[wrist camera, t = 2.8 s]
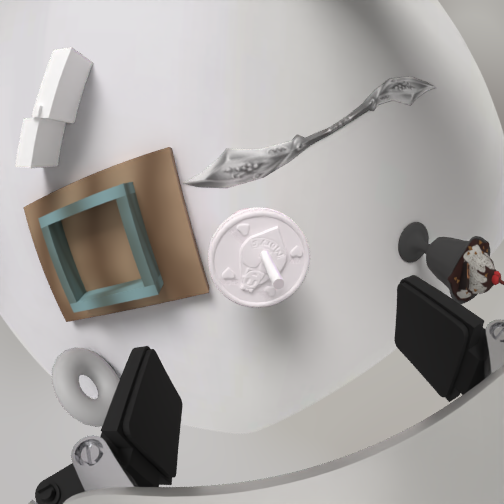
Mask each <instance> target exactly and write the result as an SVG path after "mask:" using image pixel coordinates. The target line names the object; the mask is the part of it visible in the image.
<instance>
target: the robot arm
mask: <svg viewBox="0 0 504 504" xmlns="http://www.w3.org/2000/svg"><path fill="white" fill-rule="evenodd" d="M483 323H484V320H482V319H481V318H479V317H478V316H477V315H475V314H474V313H472V312H471V311H469V310H468V309H466V308H465V307H464V306H462V305H461V304H459V303H458V302H456V301H455V300H453V299H452V298H450V297H448V296H447V295H445V294H444V293H442V292H441V291H439V290H438V289H436V288H435V287H433V286H431V285H430V284H428V283H427V282H425V281H423V280H422V279H420V278H419V277H417V276H415V275H412V276H410V277H407V278H404V279H402V280H401V282H400V284H399V285H398V287H397V313H396V329H395V344H396V346H397V348H398V349H399V350H400V351H401V352H402V353H403V354H404V355H405V356H406V357H407V358H408V360H409V361H410V362H411V363H412V364H413V365H414V366H415V367H416V369H418V371H419V372H420V373H421V374H422V375H423V377H424V378H425V379H426V380H427V381H428V382H429V383H430V384H431V386H432V387H433V388H434V389H435V390H436V391H437V393H438V394H439V395H440V396H441V397H446V399H447V400H448V401H449V402H450V401H452V400H453V399H455V398H456V397H458V396H459V395H460V393H461V394H462V396H461V397H459V398H458V399H456V400H455V401H453V402H452V403H450V404H449V405H447V406H446V407H444V408H443V409H441V410H440V411H438V412H436V413H435V414H433V415H431V416H430V417H428V418H426V419H425V420H423V421H421V422H419V423H418V424H416V425H414V426H412V427H410V428H408V429H406V430H405V431H402V432H400V433H398V434H396V435H394V436H392V437H390V438H388V439H386V440H384V441H382V442H379V443H377V444H375V445H373V446H370V447H368V448H366V449H363V450H361V451H358V452H356V453H353V454H351V455H348V456H345V457H342V458H339V459H337V460H333V461H330V462H327V463H324V464H321V465H318V466H314V467H311V468H307V469H304V470H300V471H296V472H292V473H288V474H283V475H279V476H275V477H270V478H264V479H259V480H253V481H247V482H239V483H232V484H222V485H211V486H197V487H159V485H171V484H172V477H175V476H176V469H177V455H178V444H179V434H180V424H181V414H182V401H181V398H180V396H179V394H178V393H177V391H176V389H175V387H174V386H173V384H172V382H171V380H170V378H169V376H168V375H167V373H166V371H165V369H164V367H163V365H162V363H161V361H160V359H159V357H158V355H157V353H156V351H155V350H154V349H150V348H149V347H148V346H145V347H138V348H133V350H132V352H131V354H130V356H129V359H128V361H127V363H126V366H125V368H124V371H123V373H122V376H121V378H120V381H119V383H118V386H117V388H116V391H115V393H114V396H113V398H112V401H111V404H110V406H109V409H108V412H107V415H106V417H105V420H104V423H103V426H102V429H101V431H102V434H101V437H99V436H94V435H93V436H87V437H84V438H82V439H81V440H79V441H78V442H77V443H76V444H75V446H74V447H73V450H72V453H71V458H72V462H73V463H72V464H70V465H69V466H67V467H65V468H64V469H62V470H60V471H59V472H57V473H55V474H54V475H52V476H50V477H48V478H47V479H45V480H43V481H42V482H41V483H40V484H39V485H38V487H37V489H36V492H35V498H36V502H35V501H33V500H32V501H31V502H30V503H29V504H504V320H494V321H492V322H490V323H489V324H488V325H487V327H486V330H485V329H484V328H483Z"/></svg>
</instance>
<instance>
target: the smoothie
mask: <svg viewBox="0 0 504 504" xmlns="http://www.w3.org/2000/svg"><path fill="white" fill-rule="evenodd" d="M309 264H310V250H309V245H308V242H307V239H306V237H305V235H304V233H303V232H302V230H301V229H300V228H299V227H298V226H297V224H296V223H295V222H294V221H293V220H292V219H291V218H289V217H288V216H286V215H285V214H283V213H282V212H279V211H276V210H273V209H269V208H251V209H249V208H245V209H240V210H238V211H236V212H235V213H234V214H233V215H232V216H230V217H229V218H227V219H226V220H225V221H224V222H223V223H222V224H221V225H220V226H219V227H218V229H217V230H216V232H215V234H214V235H213V237H212V239H211V242H210V246H209V250H208V265H209V271H210V275H211V278H212V280H213V282H214V284H215V286H216V287H217V288H218V290H219V291H220V292H221V293H222V294H223V295H224V296H225V297H227V298H228V299H229V300H231V301H233V302H235V303H237V304H239V305H243V306H247V307H267V306H271V305H275V304H277V303H280V302H282V301H283V300H285V299H287V298H288V297H290V296H291V295H292V294H293V293H294V292H295V291H296V290H297V289H298V288H299V287H300V285H301V284H302V283H303V281H304V279H305V277H306V275H307V272H308V269H309Z"/></svg>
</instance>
